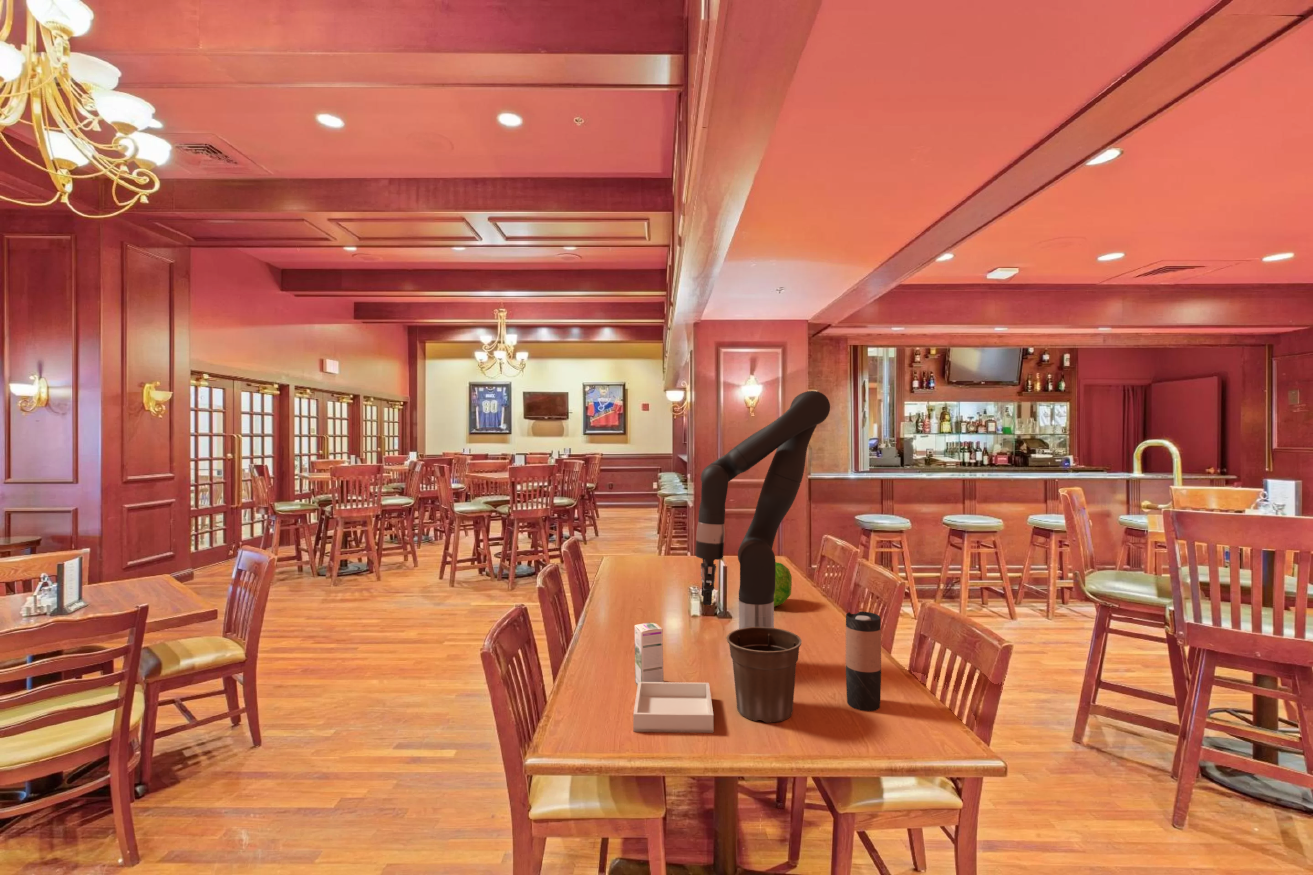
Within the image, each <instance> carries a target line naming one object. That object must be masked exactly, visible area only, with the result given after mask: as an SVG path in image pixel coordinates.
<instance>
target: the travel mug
mask: <svg viewBox="0 0 1313 875" xmlns="http://www.w3.org/2000/svg"><path fill="white" fill-rule="evenodd" d="M881 627H882V622H881V616H880V615H879V614H877V613H874V612H870V611H869V612H868V611H862V610H861V611H858V612H856V613H851V612H850V611H849V612H847V613H846V614H845V678H846V679H845V680H846V681H845V686H846V703H847V705H848V706H849V707H851V708H853V709H855V710H859V711H862V712H874V711H878V710H879V709H880V708H881V695H882V694H881V693H882V692H881V691H882V688H881V687H882V638H881V637H882V628H881Z"/></svg>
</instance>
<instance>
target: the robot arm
mask: <svg viewBox="0 0 1313 875" xmlns="http://www.w3.org/2000/svg"><path fill="white" fill-rule="evenodd" d="M789 406H790V407H789V408H788V410H786V411H785V412H784V413H783V414H781V415H780V416H779V417H778V418H777V419H775V420H774V421H772V422H771V423H770V424H767V426H766V425H765V427H763V428H761V429H759V430H757V431H756V432H754V433H752V434H751V435H750V436H748V437H746V438H745V439H744V440H742V441H741V442H739V443H738V444H737V445H736V446H734V447H733V448H731V449H730V450H729V451H728V452H727V453H726V454H724V455H722V456H721V457H719V458H718V459H716V460H714V461H712V463H710V464H709V465H707V466H706V467H704V468H703V469H702V471H701V474H700V482H701V489H700V490H701V494H700V498H701V499H700V504H699V509H698V520H697V526H696V527H697V528H696V534H695V550H694V551H695V552H694V554H695V557H696V558H699V559H701V560H702V562H701V563H700V577H701V580H700V581H701V594H700V596H702V604H703V605H704V606H711V605H712V604H713V602H712V599H713V591H714V589H715V582H716V572H717V565H716V563H715V561H716V560H722V559H723V558H724V553H725V552H724V548H725V537H726V536H725V535H726V531H725V530H726V529H725V528H726V527H725V522H726V501H727V495H728V487H729V482H731V481H732V480H733V479H735V478H737V476H738V475H740V474H744V473H746V472H747V471H749V470H750V469H751V468H753V467H754V466H756V465H757V464H758V463H760V462H761V461H762V460H764V459H765V458H766V457H768V456H769V455H770V454H771V453H772V452H774V451H775V452H774V455H773V457H772V459H771V462H770V466H769V468H768V470H767V473H766V476H765V478H764V480H763V483H762V486H761V490H760V493H759V496H758V500H757V503H756V508H755V511H754V515H753V517H752V520H751V523H750V524H749V527H748V529H747V531H746V533H745V535H744V537H743V539H742V541H741V543H740V545H739V547H738V549H737V560H738V563H739V589H738V629H742V628H747V627H772V628H775V614H774V613H775V611H774V610H775V607H774V592H775V573H776V555H775V553H774V550H773V547H774V543H775V539H776V536H777V532H778V530H779V528H780V525H781V524H782V521H783V520H784V518H785V516H786V515H787V513H788V512H789V510H790V509H791V507H792V505H793V503H794V502H795V500H796V497H797V495H798V493H799V489H800V487H801V483H802V481H803V477H804V473H805V472H804V471H805V467H806V459H807V452H808V449H809V448H808V447H809V445H810V441H811V439H812V436H813V434H814V432H815V430H816V428H817V426H818V425H820V424H821V423H823V422H825V421H826V419H827V418H828V416H829V414H830V411H831V403H830V400H829V398H828V397H827V396H826V395H825V394H824V393H823V392H820V391H818V390H808V391H803V392H802V393H800V394H797V395H796V396H795V397H794V399H793V400H792V401H791V403H790V405H789Z"/></svg>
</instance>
